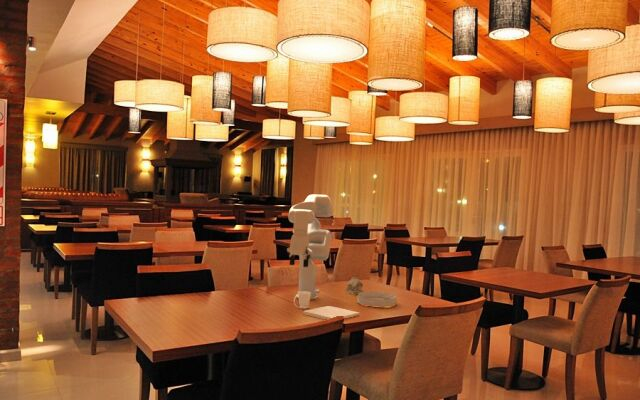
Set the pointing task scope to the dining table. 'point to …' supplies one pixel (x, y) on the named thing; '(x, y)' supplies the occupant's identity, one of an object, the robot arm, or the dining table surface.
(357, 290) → the ceramic model
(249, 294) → the dining table surface
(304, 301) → the cup
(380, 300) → the dish
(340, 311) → the board
